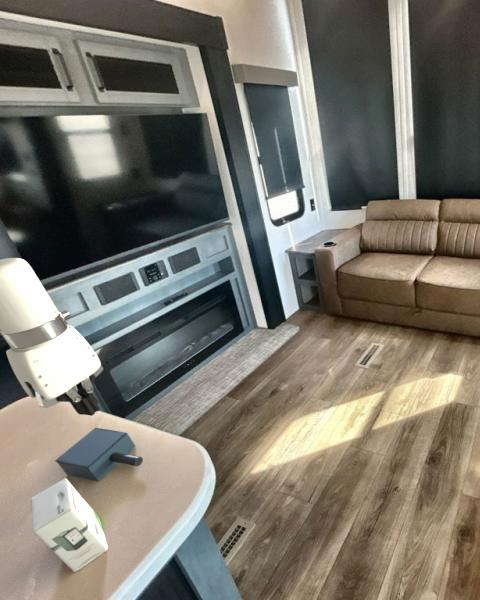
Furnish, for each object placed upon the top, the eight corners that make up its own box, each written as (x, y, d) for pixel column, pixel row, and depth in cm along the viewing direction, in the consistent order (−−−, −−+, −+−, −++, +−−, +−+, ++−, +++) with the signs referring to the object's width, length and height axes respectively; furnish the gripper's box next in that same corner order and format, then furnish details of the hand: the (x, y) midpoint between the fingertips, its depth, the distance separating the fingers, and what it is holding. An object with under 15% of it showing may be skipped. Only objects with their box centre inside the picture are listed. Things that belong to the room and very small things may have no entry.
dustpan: (113, 472, 70) (124, 487, 72) (151, 436, 78) (160, 450, 80) (54, 460, 75) (66, 474, 77) (95, 427, 82) (105, 440, 84)
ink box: (67, 538, 64) (28, 496, 59) (101, 516, 67) (66, 475, 62) (73, 574, 59) (30, 532, 53) (109, 549, 61) (72, 507, 56)
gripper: (66, 308, 68) (112, 384, 77) (-34, 356, 56) (34, 440, 64) (96, 310, 66) (139, 387, 75) (-1, 360, 54) (64, 446, 62)
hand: (90, 411), depth 69 cm, fingers closed
